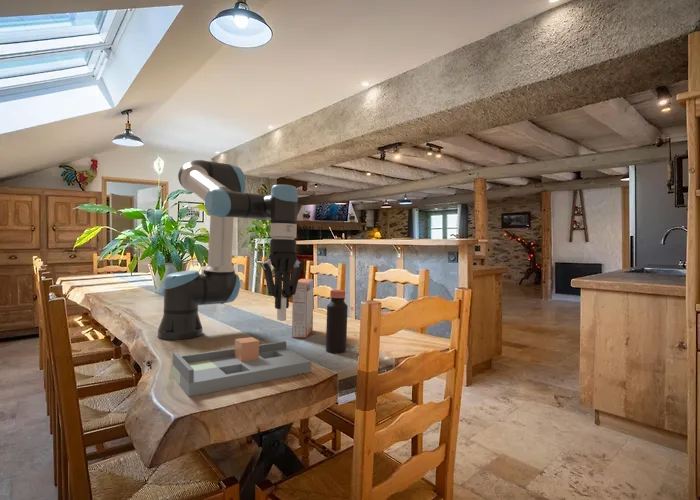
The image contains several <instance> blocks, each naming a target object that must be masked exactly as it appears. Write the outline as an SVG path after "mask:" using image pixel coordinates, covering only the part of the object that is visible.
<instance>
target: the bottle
mask: <svg viewBox="0 0 700 500" xmlns="http://www.w3.org/2000/svg"><path fill="white" fill-rule="evenodd" d="M329 292H330V297H329V298H330V299H331V300H330V302H328V304H327V305H326V329H325V330H326V331H325V333H326V334H325V335H326V336H325V350H326V352H328V353H330V354H341V353H345V352H346V351H347V337H348V336H347V335H348V331H347V330H348V308H349V307H348V306H349V305H348V304H346V302H345V300H346V290H344V289H331V290H330V291H329Z"/></svg>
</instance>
